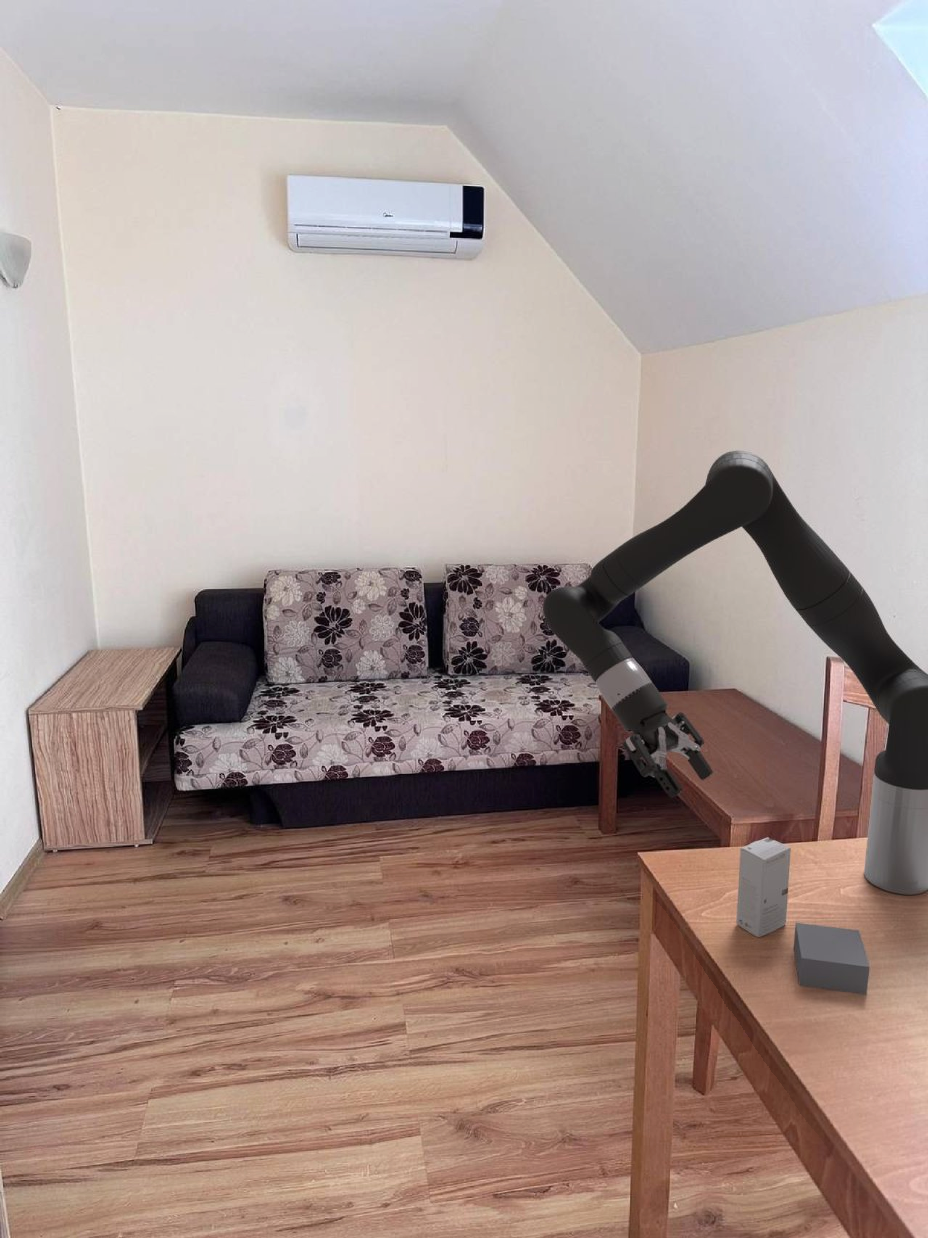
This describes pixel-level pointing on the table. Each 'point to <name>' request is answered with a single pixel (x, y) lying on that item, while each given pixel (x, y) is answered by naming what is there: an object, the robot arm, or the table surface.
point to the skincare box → (763, 886)
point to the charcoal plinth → (831, 958)
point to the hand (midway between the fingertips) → (693, 785)
